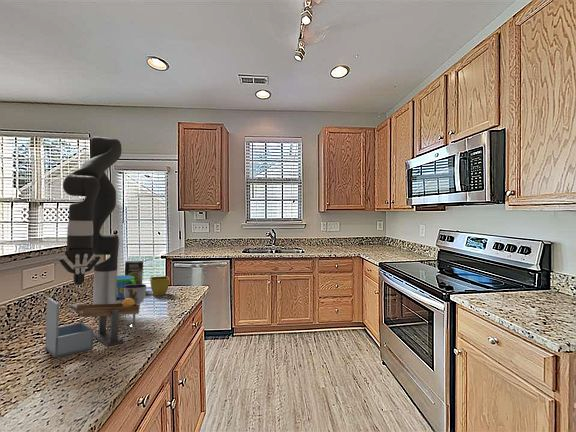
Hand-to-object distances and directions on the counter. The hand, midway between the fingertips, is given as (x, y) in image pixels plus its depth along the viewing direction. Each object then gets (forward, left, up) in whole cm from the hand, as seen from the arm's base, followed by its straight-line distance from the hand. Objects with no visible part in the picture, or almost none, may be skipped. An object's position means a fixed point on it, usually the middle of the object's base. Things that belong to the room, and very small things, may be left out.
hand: (78, 284), depth 115 cm
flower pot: (-38, +50, -19) cm, 66 cm away
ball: (+8, +14, -7) cm, 17 cm away
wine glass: (-1, +20, -19) cm, 27 cm away
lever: (+4, +7, -9) cm, 12 cm away
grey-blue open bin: (+8, -4, -18) cm, 21 cm away
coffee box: (-55, +44, -19) cm, 73 cm away
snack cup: (-45, +34, -19) cm, 59 cm away
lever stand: (+8, +7, -18) cm, 21 cm away
